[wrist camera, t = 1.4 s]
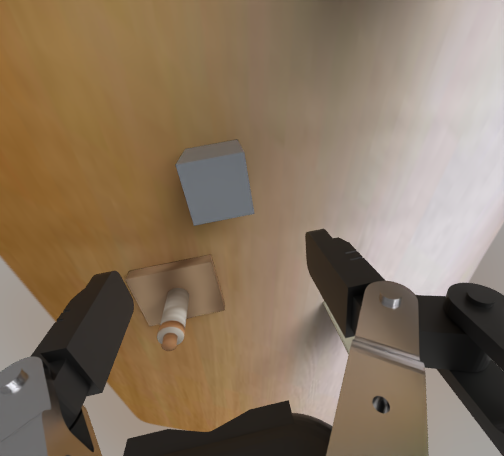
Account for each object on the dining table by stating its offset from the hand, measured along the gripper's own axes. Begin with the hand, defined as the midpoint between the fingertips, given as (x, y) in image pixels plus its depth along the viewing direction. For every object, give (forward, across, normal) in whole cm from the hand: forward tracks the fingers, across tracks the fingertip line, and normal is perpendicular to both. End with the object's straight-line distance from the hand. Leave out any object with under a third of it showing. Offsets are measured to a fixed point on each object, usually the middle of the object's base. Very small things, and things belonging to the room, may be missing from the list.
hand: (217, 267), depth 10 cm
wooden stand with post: (+17, +8, +14) cm, 23 cm away
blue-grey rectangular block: (+17, 0, 0) cm, 17 cm away
